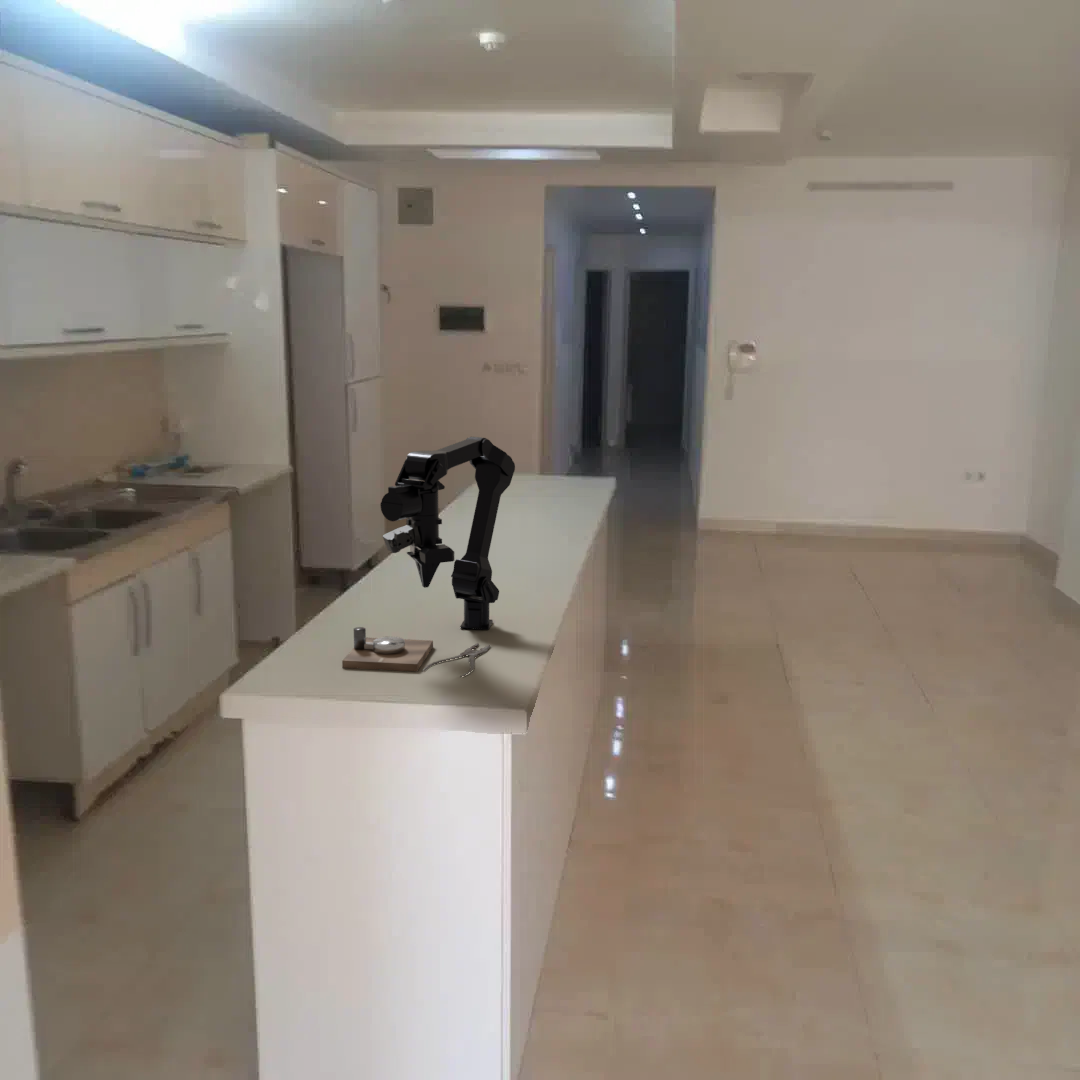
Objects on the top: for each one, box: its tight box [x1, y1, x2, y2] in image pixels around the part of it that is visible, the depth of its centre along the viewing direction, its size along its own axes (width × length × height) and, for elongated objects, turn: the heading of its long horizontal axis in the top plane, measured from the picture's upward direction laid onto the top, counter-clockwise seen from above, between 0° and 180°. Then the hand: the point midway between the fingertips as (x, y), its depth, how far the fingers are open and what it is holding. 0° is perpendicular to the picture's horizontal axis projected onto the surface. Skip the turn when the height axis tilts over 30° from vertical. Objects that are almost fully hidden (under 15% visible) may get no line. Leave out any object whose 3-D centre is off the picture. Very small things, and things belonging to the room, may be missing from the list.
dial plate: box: [341, 636, 434, 672], centre depth 206 cm, size 15×15×2 cm
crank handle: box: [353, 626, 405, 654], centre depth 206 cm, size 10×6×4 cm, turn 85°
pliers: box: [421, 642, 491, 678], centre depth 206 cm, size 10×1×20 cm
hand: (425, 587), depth 211 cm, fingers closed
